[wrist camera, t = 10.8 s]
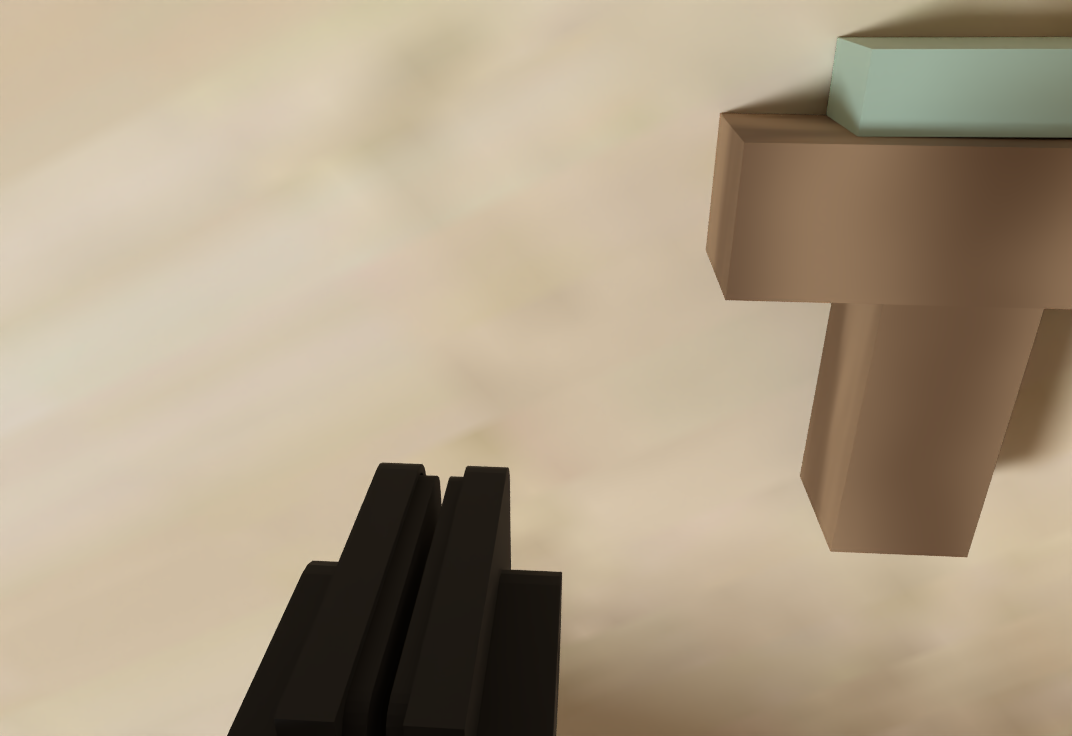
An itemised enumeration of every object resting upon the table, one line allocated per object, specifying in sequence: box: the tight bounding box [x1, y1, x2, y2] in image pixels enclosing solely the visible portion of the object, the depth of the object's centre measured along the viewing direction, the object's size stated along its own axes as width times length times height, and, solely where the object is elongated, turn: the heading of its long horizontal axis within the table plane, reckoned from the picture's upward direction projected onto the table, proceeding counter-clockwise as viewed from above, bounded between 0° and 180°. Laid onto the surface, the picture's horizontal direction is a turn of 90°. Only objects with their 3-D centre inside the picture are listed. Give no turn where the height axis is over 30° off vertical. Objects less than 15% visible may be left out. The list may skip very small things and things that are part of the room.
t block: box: [706, 113, 1072, 557], centre depth 24 cm, size 12×12×4 cm
